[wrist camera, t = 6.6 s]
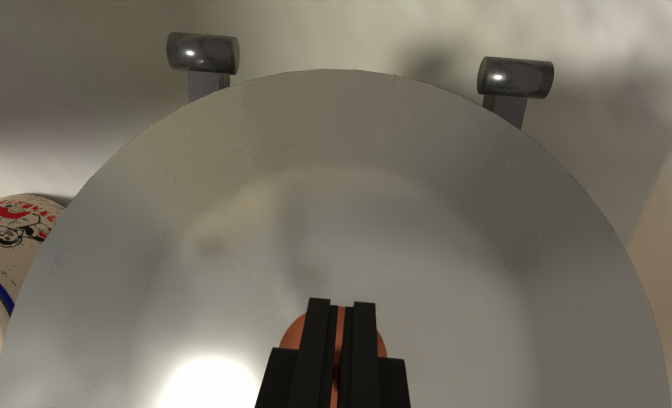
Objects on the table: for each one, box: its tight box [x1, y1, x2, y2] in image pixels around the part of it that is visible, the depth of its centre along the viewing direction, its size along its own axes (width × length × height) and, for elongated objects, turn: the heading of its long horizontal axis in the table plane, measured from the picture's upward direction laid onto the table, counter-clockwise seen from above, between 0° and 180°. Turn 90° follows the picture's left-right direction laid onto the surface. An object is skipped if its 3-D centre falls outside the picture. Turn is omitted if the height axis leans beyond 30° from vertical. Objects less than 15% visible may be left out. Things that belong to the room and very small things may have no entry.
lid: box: [0, 69, 671, 408], centre depth 13 cm, size 20×20×3 cm
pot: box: [167, 32, 554, 130], centre depth 25 cm, size 21×25×10 cm
